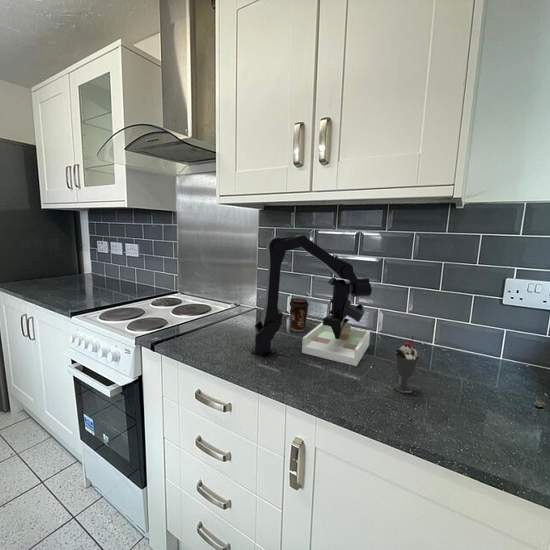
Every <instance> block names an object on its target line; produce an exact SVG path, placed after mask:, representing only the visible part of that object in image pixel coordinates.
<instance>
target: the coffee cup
mask: <svg viewBox="0 0 550 550" xmlns="http://www.w3.org/2000/svg"><path fill="white" fill-rule="evenodd" d="M289 300H290V302H289V307H290V310H289V317H290V321H291V325H290V327H289V328H290V330H292V331H294V332H304V331H305V329H306V324H307V317H308V309H309V305H310V304H309V302H308V300H307V299H306V298H302V297H293V298H290V299H289Z"/></svg>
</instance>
